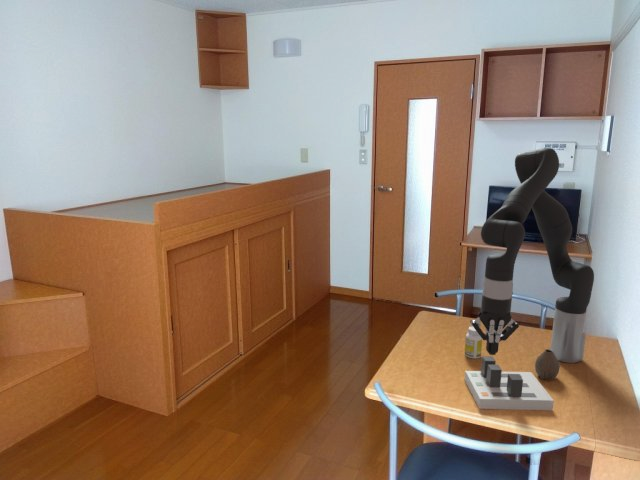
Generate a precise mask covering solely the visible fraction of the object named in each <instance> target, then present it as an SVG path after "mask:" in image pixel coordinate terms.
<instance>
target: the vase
mask: <svg viewBox="0 0 640 480" xmlns="http://www.w3.org/2000/svg"><path fill="white" fill-rule="evenodd" d="M534 368H535V373H536V375H537V376H538V377H539V378H540V379H543V380H547V381H549V380H550V381H551V380H554V379H555V378H556V377H557V376H558V375H559V372H560V361H559V360H558V359H557V358H556V356H555V355H554V353H553V351H552V350H550V348H548V349H544V351H543V352H542V353H540V355H538V356H537V357H536V359H535V363H534Z"/></svg>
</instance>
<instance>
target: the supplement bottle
mask: <svg viewBox="0 0 640 480" xmlns="http://www.w3.org/2000/svg"><path fill="white" fill-rule="evenodd" d="M482 345H483V339H482V338H481V336H480V335H479V334H478V332H477V331H476V330H475V328H474V327H473V326H472V325H471V326H469V327H468V330H467V333H466V335H465V343H464V355H465V356H466V357H467V358H470V359H479V358H482Z"/></svg>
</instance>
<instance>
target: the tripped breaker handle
mask: <svg viewBox="0 0 640 480" xmlns="http://www.w3.org/2000/svg"><path fill="white" fill-rule="evenodd" d="M522 386H523V379H522V378H521V376H520V375H519V374H508V380H507V392H508V393H509V395H510V396H521V395H522Z"/></svg>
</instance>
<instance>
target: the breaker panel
mask: <svg viewBox="0 0 640 480" xmlns="http://www.w3.org/2000/svg"><path fill="white" fill-rule="evenodd" d="M496 363H497V361H496V360H495V358H494V355H481V366H480V367H481V369H480V370H464V371H465V372H464V382H465V383H466V385H467V387H468V389H469V391H470V393H471V396H472V397H473V399H474V402H475V403H476V405H477V407H478V409H480V410H522V411H526V410H527V411H533V410H534V411H553V409H554V402H555V400H554V399H553V397H552V396H551V395H550V394H549V392H548V391H547V390H546V389H545V388H544V386H543V385H542V384H541V383H540V381H539V380H538V379H537V378H536V377H535V374H533V372H531V371H502V370H503V369H502V368H501V367H500V365H499V364H496ZM508 374H519V375H520V376H521V378H522V379H523V386H522V395H521V396H510V395H509V393H508V392H507V380H508Z"/></svg>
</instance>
